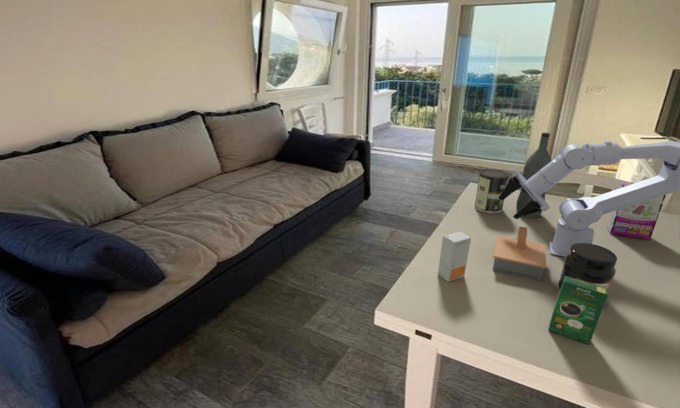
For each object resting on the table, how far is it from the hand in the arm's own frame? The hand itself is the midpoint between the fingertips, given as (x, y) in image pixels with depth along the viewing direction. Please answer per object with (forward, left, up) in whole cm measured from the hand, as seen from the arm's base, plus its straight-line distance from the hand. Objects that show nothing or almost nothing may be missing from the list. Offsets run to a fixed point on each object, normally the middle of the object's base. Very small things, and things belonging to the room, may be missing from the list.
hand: (507, 208), depth 114 cm
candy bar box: (-38, -24, -12) cm, 47 cm away
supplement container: (-20, +20, -12) cm, 30 cm away
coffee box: (-16, +38, -12) cm, 43 cm away
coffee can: (+6, -27, -12) cm, 31 cm away
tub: (-5, +12, -12) cm, 17 cm away
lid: (-5, +12, -9) cm, 15 cm away
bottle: (-8, -28, -12) cm, 32 cm away
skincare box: (+11, +26, -12) cm, 30 cm away
